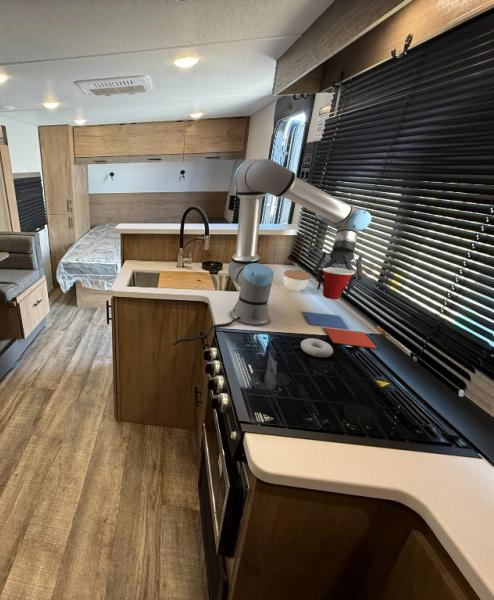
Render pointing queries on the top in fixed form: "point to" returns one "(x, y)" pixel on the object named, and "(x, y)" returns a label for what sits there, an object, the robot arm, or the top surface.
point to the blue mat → (325, 320)
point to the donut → (316, 348)
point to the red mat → (349, 338)
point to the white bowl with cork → (296, 280)
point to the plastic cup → (335, 281)
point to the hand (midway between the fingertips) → (332, 290)
